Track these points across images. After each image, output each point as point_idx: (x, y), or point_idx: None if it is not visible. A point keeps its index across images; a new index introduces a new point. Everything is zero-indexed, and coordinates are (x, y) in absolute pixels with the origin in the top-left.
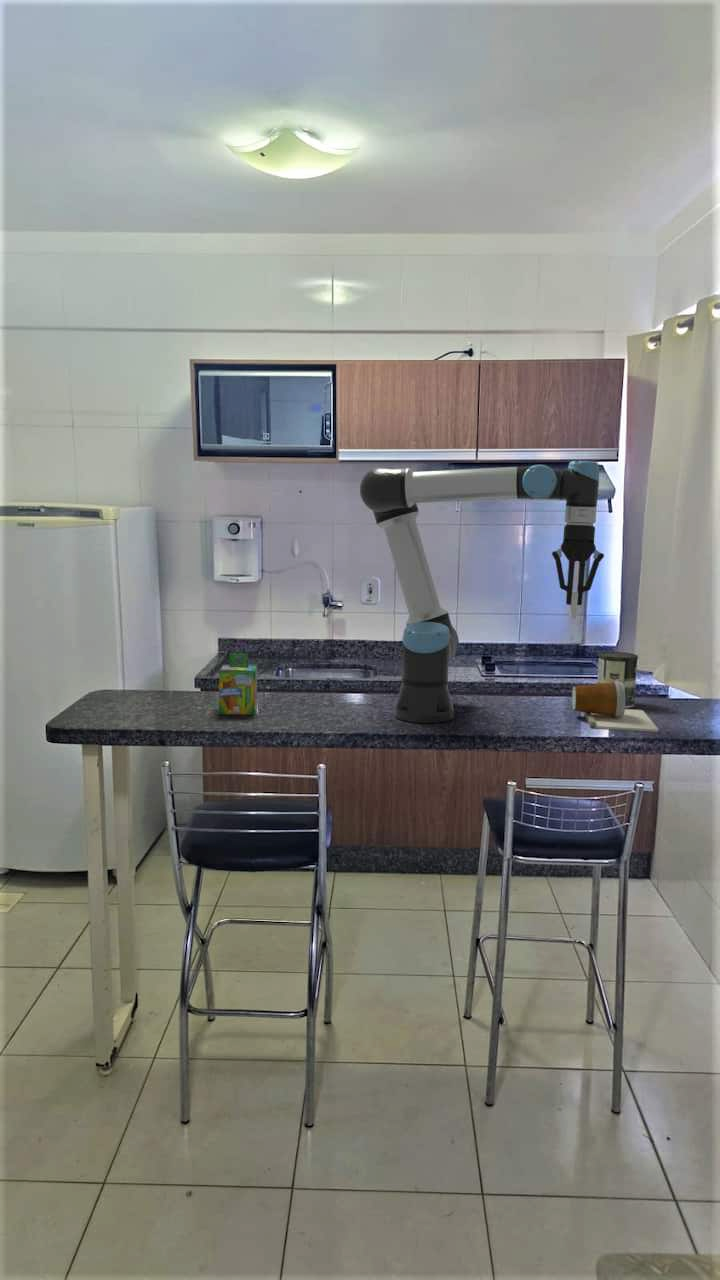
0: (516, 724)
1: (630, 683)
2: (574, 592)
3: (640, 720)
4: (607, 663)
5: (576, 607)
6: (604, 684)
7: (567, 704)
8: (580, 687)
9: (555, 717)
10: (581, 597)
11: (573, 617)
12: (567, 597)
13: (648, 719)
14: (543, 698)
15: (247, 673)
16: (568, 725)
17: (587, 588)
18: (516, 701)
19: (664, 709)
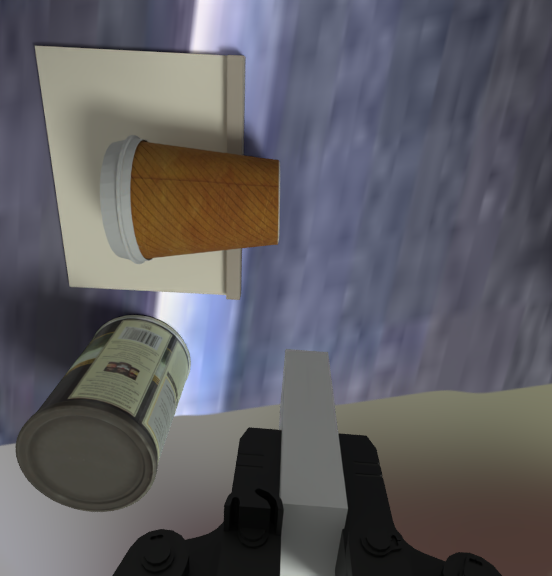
0: (477, 59)
1: (78, 361)
2: (312, 542)
3: (83, 159)
4: (134, 405)
5: (288, 400)
6: (170, 205)
7: (271, 338)
8: (259, 199)
9: (332, 179)
10: (241, 481)
11: (305, 353)
12: (378, 486)
13: (59, 177)
14: None
15: None
16: (309, 80)
17: (167, 548)
18: (410, 347)
19: (12, 328)
